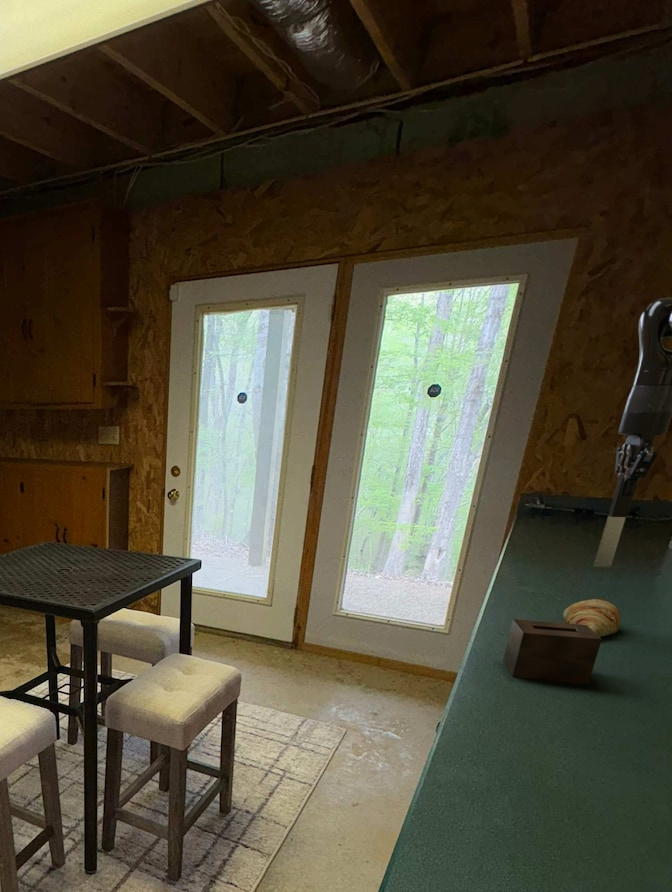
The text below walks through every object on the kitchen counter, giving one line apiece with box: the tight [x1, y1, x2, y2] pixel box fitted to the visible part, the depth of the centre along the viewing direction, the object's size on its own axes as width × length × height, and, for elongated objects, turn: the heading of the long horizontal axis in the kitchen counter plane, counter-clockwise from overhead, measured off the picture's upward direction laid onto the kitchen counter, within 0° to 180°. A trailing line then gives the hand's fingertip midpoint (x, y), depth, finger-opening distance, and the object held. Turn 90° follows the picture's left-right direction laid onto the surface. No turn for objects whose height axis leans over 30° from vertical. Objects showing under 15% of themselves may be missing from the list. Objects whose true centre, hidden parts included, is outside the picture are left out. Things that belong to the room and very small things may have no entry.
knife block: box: [502, 618, 603, 685], centre depth 120 cm, size 12×8×9 cm
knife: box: [593, 472, 632, 568], centre depth 134 cm, size 3×2×20 cm, turn 69°
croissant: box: [562, 598, 621, 638], centre depth 142 cm, size 21×10×8 cm, turn 141°
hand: (622, 497), depth 132 cm, fingers closed on knife, 2 cm apart
